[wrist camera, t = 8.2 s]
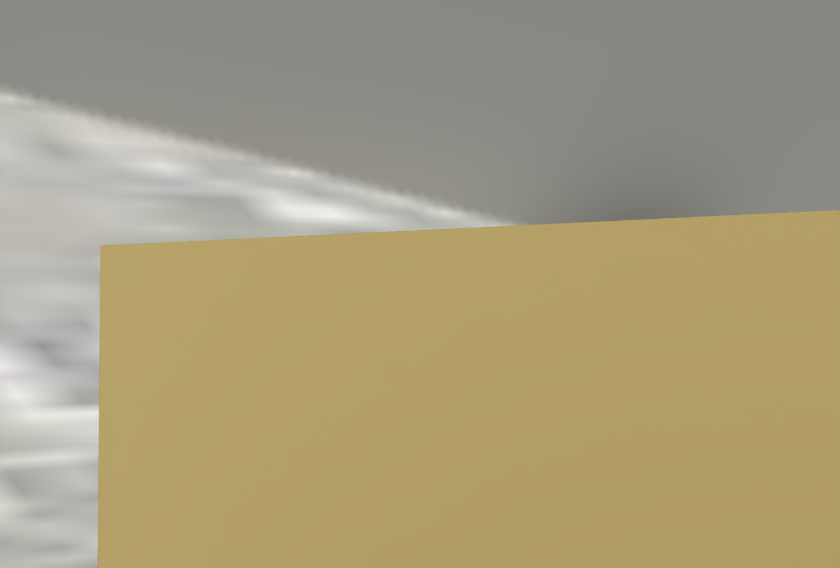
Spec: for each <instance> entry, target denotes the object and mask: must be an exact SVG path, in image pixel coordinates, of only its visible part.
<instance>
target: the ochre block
mask: <svg viewBox="0 0 840 568" xmlns="http://www.w3.org/2000/svg"><path fill="white" fill-rule="evenodd" d="M98 568H840V210H834V211H813V212H793V213H771V214H751V215H729V216H709V217H691V218H690V217H689V218H667V219H647V220H625V221H605V222H585V223H563V224H544V225H543V224H542V225H521V226H500V227H479V228H458V229H437V230H417V231H396V232H375V233H354V234H333V235H312V236H291V237H271V238H250V239H229V240H208V241H187V242H166V243H146V244H125V245H104V246H101V259H100V368H99V476H98Z"/></svg>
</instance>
